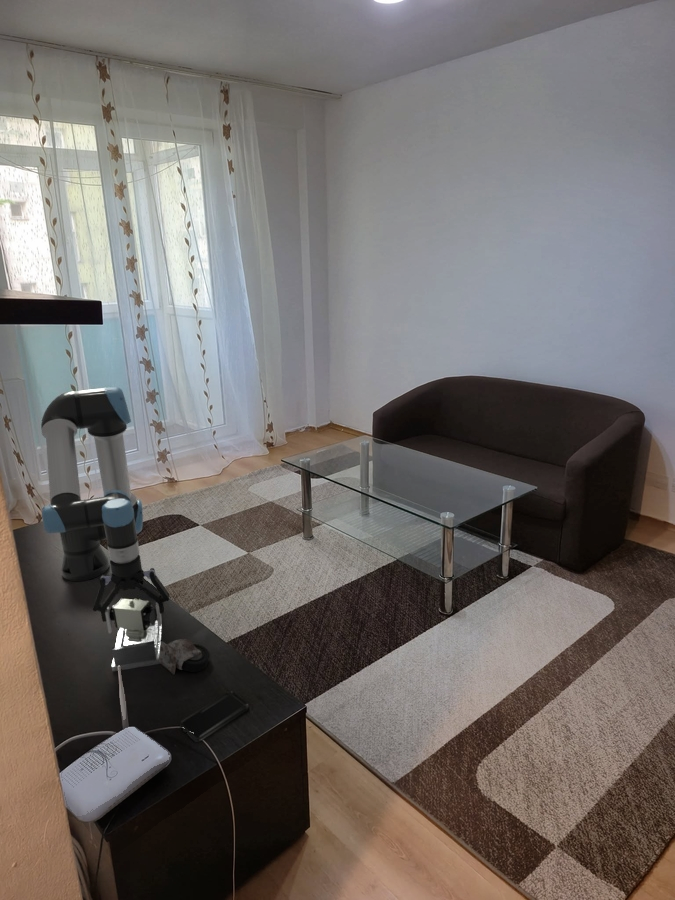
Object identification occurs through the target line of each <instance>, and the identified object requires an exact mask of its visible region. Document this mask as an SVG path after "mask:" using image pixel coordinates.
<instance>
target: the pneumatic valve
mask: <svg viewBox="0 0 675 900" xmlns="http://www.w3.org/2000/svg"><path fill="white" fill-rule="evenodd" d="M110 619H111V620H112V622H113V623H114V626H115V627H114V628H118V629H120V628H125V630H126V629H127V630H126V636H127V637H129V638H128V640H129V641H133V642H141V641H142V639H145V638H146V636H147V629H148V627H149V626H153V625H154V624H155V621H157V612H156V607H154V605H153V604H152V601H150V600H142V599H141V598H139V599H137V598H135V597H134V599H130V598H122V597H121V598H120V599H119V601H117V602H116V603H114V604H113V605H112V606H111V607H110Z"/></svg>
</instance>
